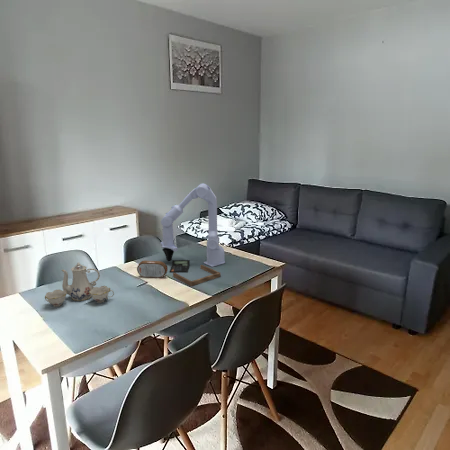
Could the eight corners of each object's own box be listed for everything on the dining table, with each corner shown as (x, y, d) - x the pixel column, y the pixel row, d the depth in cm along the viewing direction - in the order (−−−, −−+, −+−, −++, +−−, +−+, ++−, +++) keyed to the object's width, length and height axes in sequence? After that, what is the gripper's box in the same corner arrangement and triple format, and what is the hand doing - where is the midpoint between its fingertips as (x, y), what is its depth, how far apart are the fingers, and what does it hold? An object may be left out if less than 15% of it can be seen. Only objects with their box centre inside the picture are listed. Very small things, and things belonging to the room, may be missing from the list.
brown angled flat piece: (202, 268, 196) (201, 264, 195) (220, 276, 184) (220, 272, 184) (173, 276, 185) (173, 273, 184) (191, 286, 173) (190, 282, 173)
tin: (168, 276, 185) (167, 260, 183) (166, 278, 182) (165, 262, 180) (138, 275, 187) (137, 259, 185) (136, 277, 184) (135, 262, 181)
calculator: (169, 273, 190) (169, 267, 189) (172, 265, 201) (172, 259, 201) (187, 273, 190) (187, 267, 189) (189, 265, 201) (189, 259, 201)
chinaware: (43, 316, 150) (36, 279, 144) (48, 295, 165) (43, 261, 159) (114, 306, 157) (111, 271, 152) (114, 287, 172) (111, 255, 167)
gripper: (154, 235, 203) (156, 259, 206) (168, 241, 192) (170, 266, 195) (166, 233, 207) (167, 256, 210) (180, 238, 196) (181, 262, 200)
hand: (169, 260), depth 203 cm, fingers closed
